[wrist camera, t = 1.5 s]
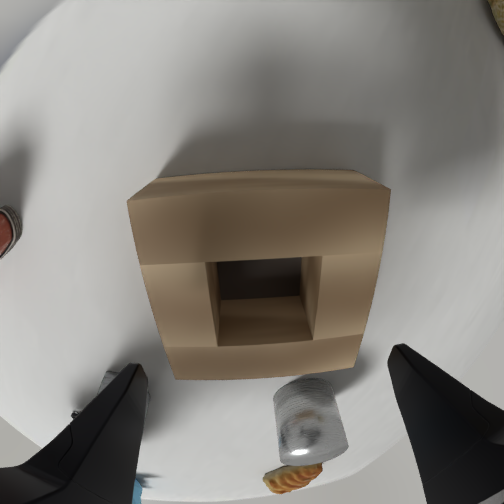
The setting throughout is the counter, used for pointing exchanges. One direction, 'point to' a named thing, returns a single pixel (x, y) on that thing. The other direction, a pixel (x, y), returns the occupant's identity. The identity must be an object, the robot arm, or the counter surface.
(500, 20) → the cantaloupe
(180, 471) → the counter surface
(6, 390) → the counter surface
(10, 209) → the lighter
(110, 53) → the counter surface
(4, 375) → the counter surface
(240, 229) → the socket block
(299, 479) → the pastry
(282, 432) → the cylinder
